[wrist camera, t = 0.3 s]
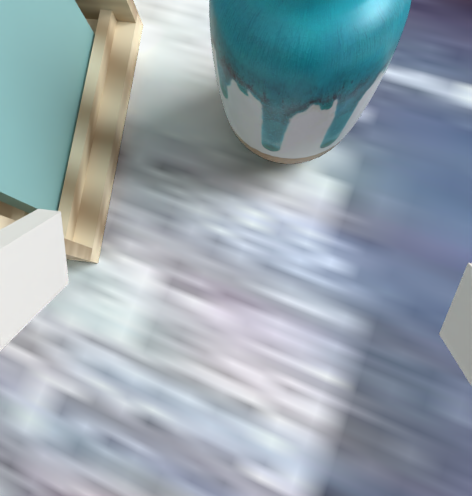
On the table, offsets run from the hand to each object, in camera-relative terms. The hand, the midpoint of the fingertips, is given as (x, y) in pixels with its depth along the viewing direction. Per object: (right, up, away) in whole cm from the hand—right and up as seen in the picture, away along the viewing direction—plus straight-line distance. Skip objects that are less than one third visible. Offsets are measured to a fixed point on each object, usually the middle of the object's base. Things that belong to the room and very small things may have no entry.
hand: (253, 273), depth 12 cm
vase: (+4, +12, +20) cm, 23 cm away
